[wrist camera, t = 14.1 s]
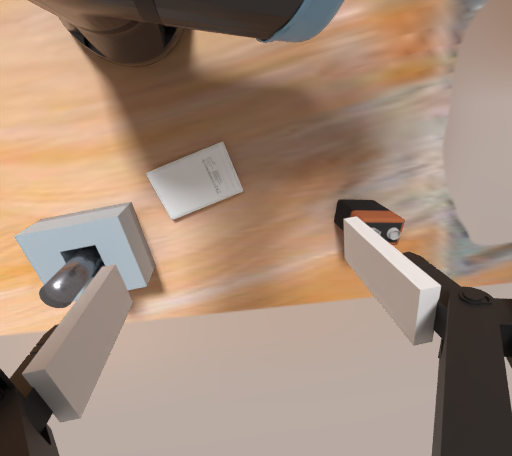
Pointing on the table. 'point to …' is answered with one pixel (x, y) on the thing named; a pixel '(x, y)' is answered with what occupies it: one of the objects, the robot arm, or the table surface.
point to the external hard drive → (195, 181)
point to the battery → (371, 218)
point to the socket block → (90, 243)
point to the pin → (71, 278)
